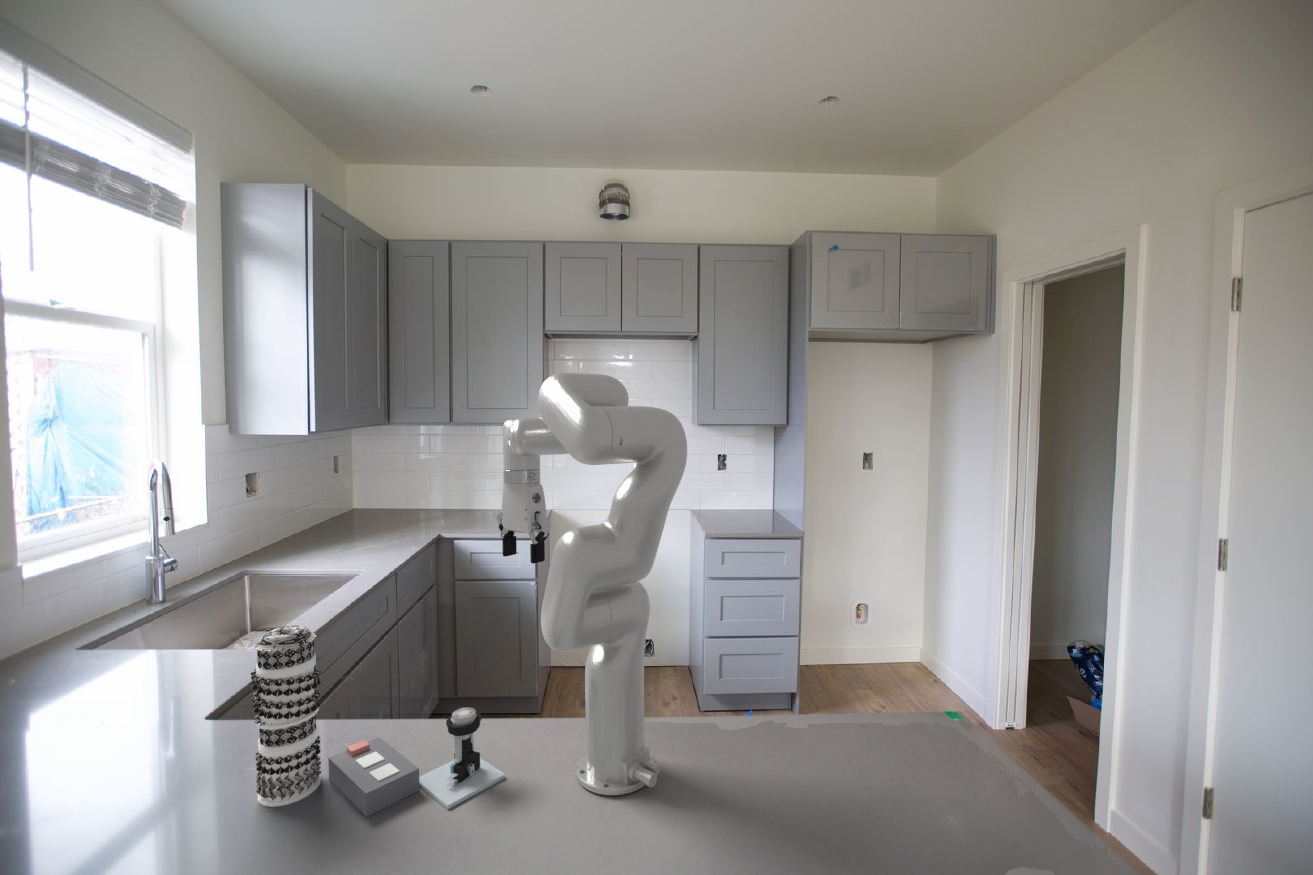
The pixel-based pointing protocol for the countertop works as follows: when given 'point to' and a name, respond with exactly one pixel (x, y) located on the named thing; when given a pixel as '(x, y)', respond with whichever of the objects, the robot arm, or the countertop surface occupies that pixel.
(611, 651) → the robot arm
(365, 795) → the power strip
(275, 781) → the decorative candle
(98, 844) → the countertop surface
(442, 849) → the countertop surface
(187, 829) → the countertop surface
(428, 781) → the pale blue mat
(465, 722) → the push button
